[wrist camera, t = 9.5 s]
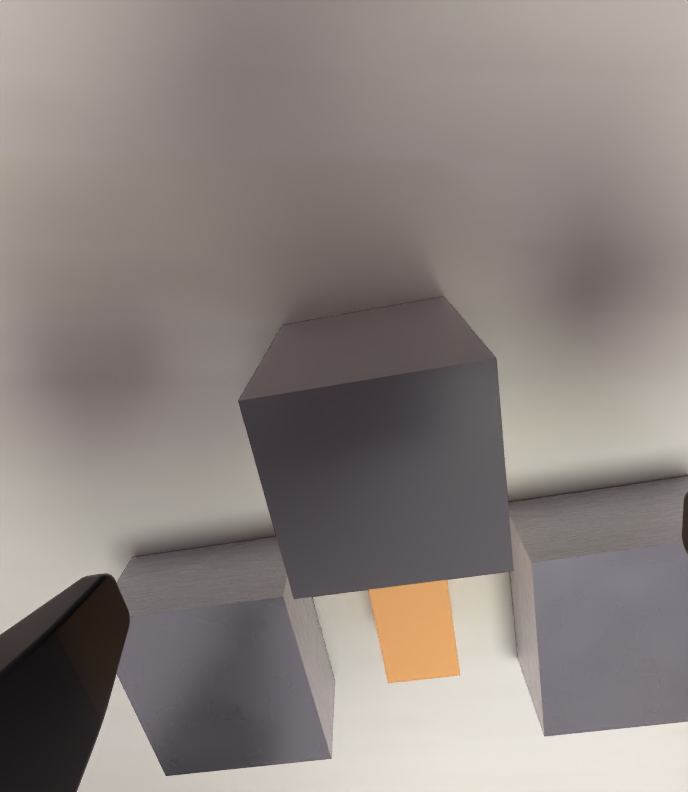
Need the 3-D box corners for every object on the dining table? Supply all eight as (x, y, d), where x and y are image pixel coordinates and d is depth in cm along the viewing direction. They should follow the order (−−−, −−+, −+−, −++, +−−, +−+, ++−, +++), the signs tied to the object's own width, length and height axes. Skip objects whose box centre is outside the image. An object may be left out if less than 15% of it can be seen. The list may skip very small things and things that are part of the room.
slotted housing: (680, 640, 16) (734, 716, 14) (191, 698, 18) (165, 775, 15) (689, 475, 14) (756, 532, 12) (132, 557, 15) (92, 622, 13)
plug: (480, 615, 16) (531, 789, 11) (353, 630, 16) (351, 805, 12) (444, 296, 12) (496, 358, 8) (282, 325, 13) (237, 401, 8)
